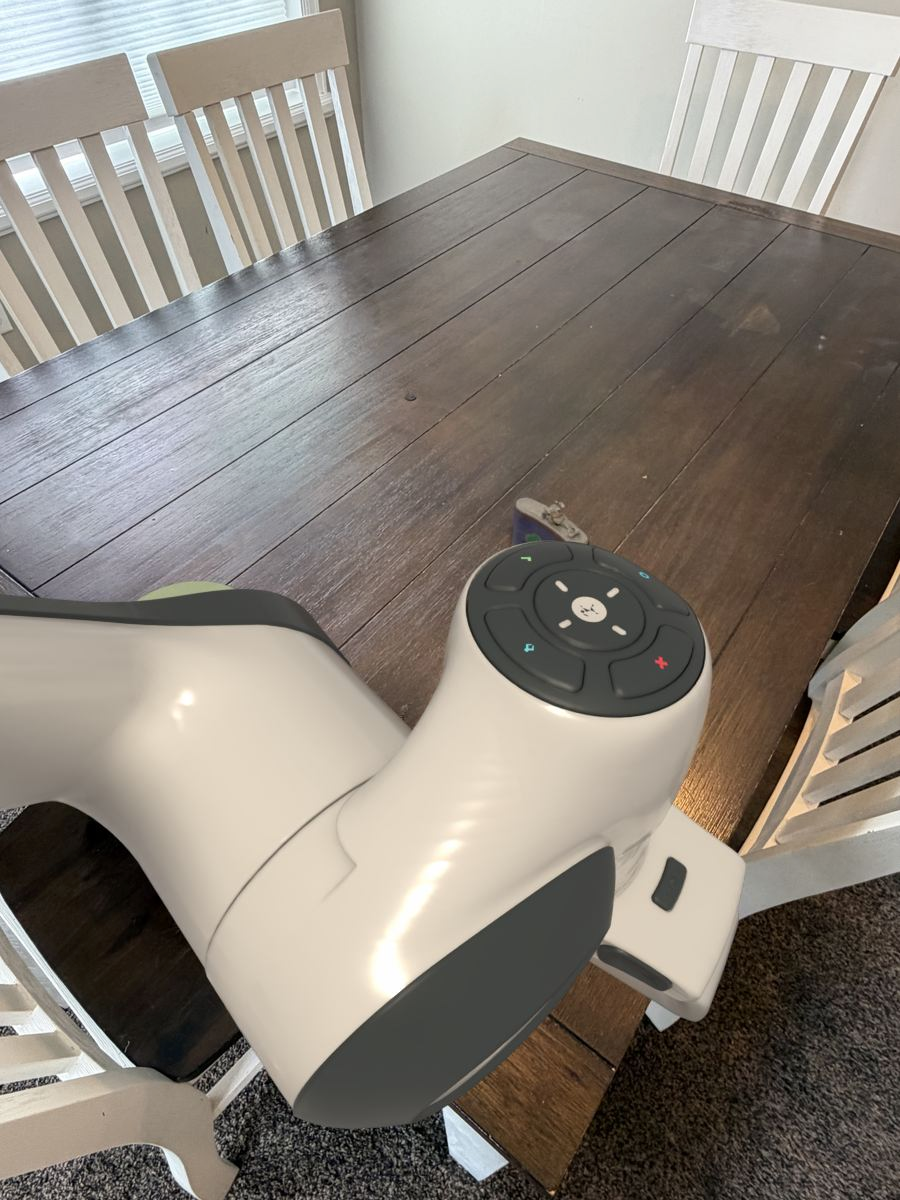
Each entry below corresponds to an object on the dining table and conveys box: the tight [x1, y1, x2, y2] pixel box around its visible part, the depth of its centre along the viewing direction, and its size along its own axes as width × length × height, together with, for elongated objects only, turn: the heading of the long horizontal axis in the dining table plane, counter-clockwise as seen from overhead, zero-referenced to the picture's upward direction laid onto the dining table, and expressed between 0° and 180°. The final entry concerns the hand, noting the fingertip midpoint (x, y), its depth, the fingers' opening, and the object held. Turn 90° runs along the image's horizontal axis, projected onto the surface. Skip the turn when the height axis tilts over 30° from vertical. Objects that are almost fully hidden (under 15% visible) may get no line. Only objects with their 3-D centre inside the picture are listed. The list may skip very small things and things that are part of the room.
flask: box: [510, 496, 590, 547], centre depth 75 cm, size 9×3×11 cm, turn 44°
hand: (521, 911), depth 44 cm, fingers closed on sponge, 5 cm apart
